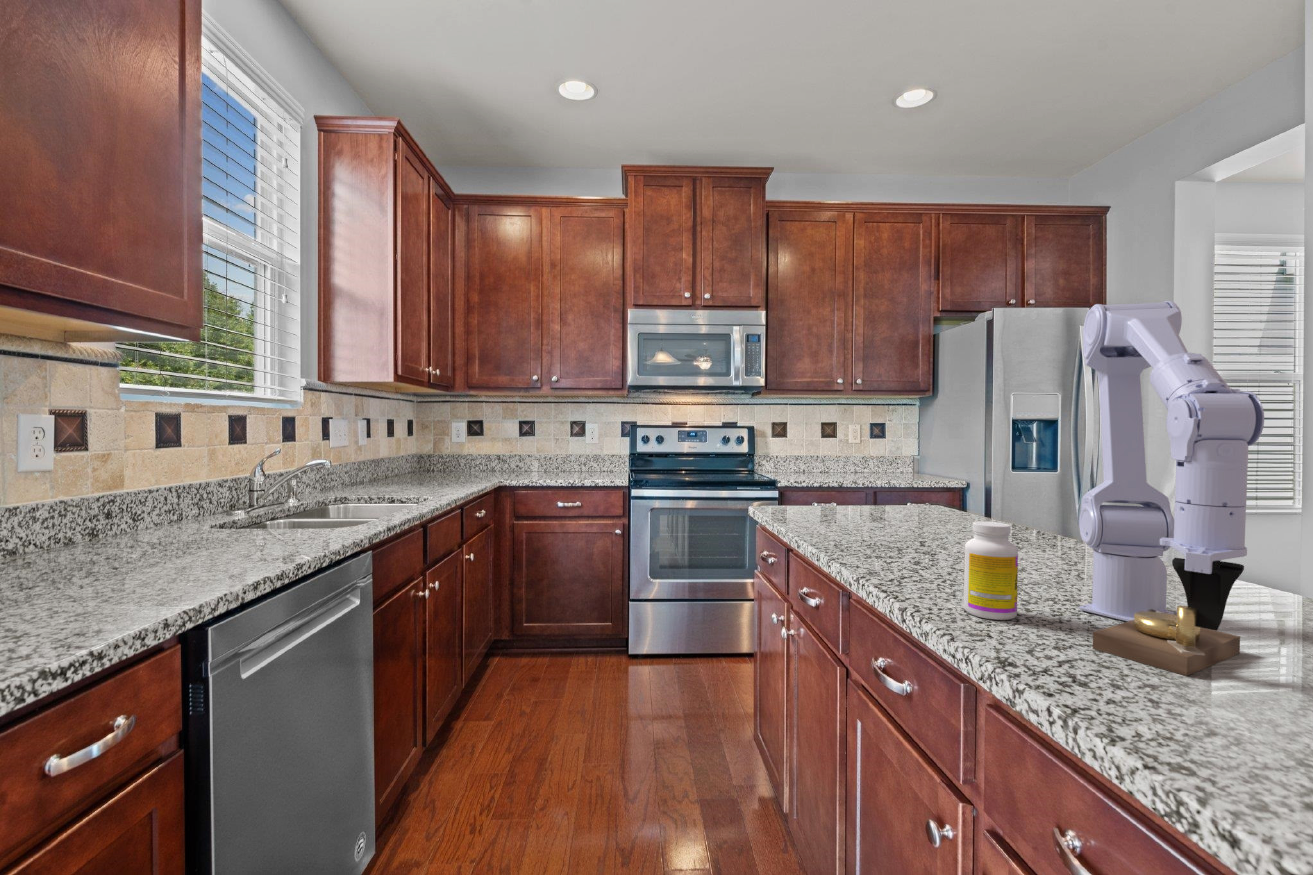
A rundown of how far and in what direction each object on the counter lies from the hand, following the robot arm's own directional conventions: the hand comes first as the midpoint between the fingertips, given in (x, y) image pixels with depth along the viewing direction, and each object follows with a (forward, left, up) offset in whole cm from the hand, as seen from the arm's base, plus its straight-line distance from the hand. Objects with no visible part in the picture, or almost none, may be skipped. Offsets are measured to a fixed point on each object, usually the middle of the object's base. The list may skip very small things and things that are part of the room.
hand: (1205, 627), depth 66 cm
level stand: (-3, -5, -5) cm, 7 cm away
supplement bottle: (+2, -23, -5) cm, 24 cm away
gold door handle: (-2, -4, -2) cm, 5 cm away
